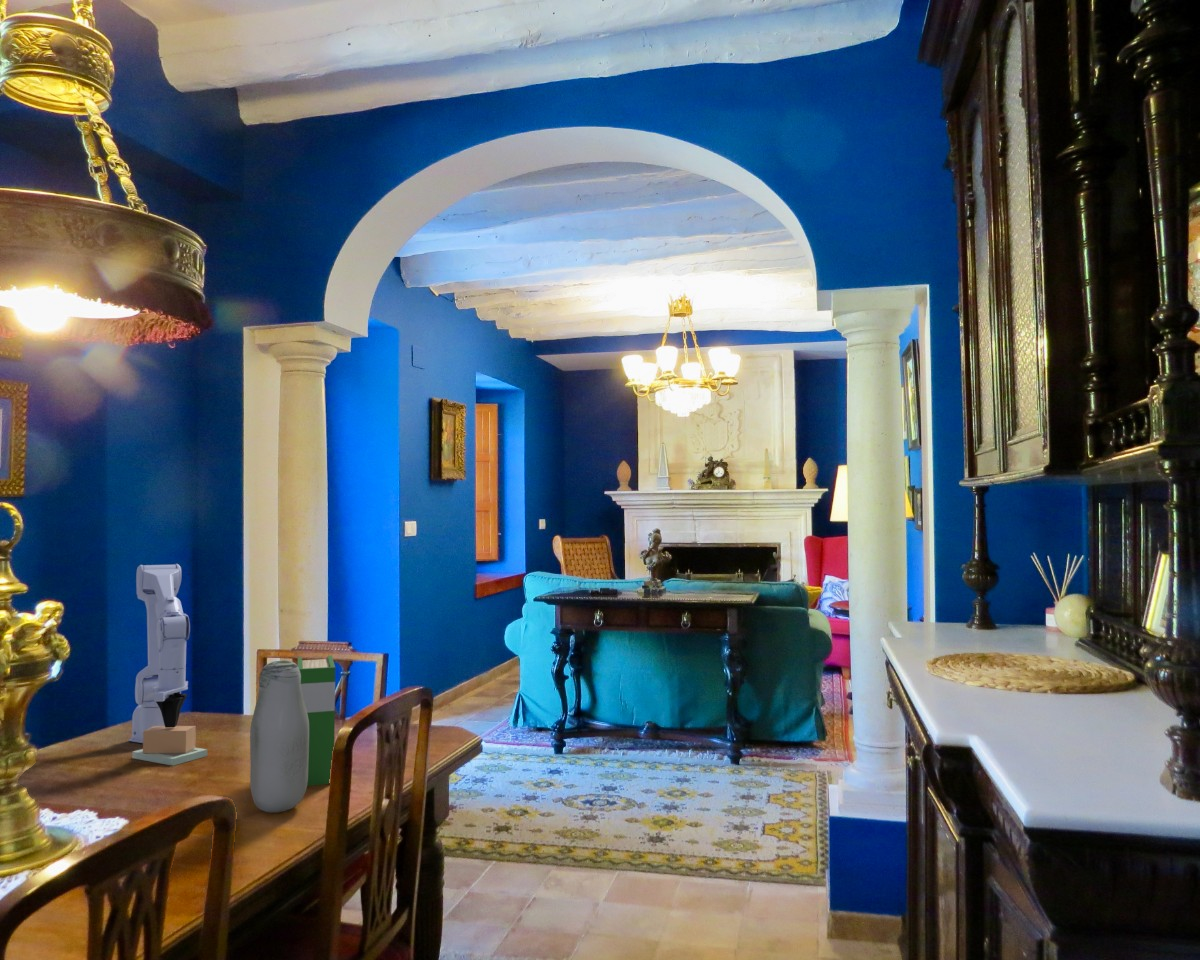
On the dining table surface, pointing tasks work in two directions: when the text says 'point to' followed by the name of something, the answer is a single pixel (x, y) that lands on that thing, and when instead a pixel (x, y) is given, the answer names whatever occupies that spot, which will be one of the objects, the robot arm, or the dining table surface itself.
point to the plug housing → (169, 739)
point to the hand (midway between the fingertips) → (170, 726)
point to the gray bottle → (279, 739)
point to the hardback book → (319, 715)
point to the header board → (170, 756)
